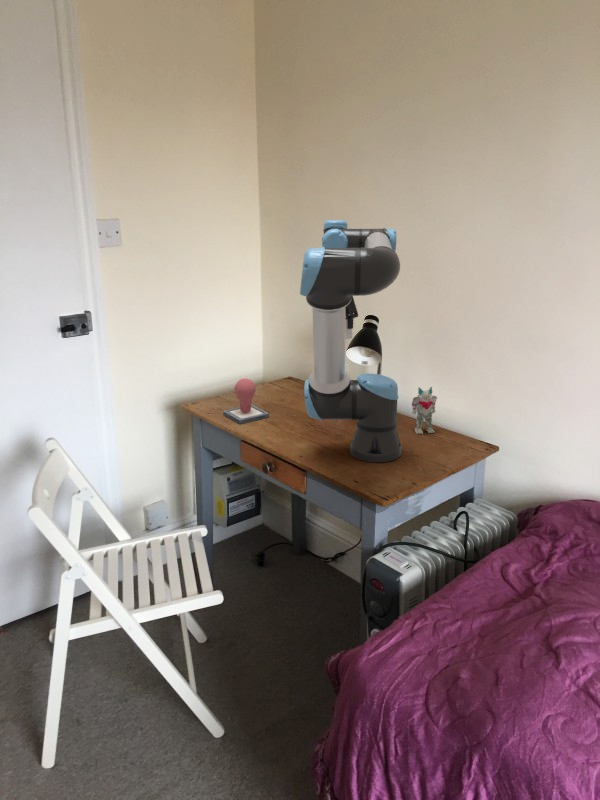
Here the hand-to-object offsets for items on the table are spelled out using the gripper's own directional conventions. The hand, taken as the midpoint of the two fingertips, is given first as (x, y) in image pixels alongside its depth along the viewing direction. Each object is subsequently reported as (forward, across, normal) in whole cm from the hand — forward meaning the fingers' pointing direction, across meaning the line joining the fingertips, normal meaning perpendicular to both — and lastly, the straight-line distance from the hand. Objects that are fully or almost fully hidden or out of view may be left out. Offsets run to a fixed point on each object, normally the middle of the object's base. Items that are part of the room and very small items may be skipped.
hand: (334, 335), depth 215 cm
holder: (+28, +18, +24) cm, 41 cm away
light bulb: (+27, +18, +24) cm, 40 cm away
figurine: (+29, -29, -13) cm, 43 cm away
